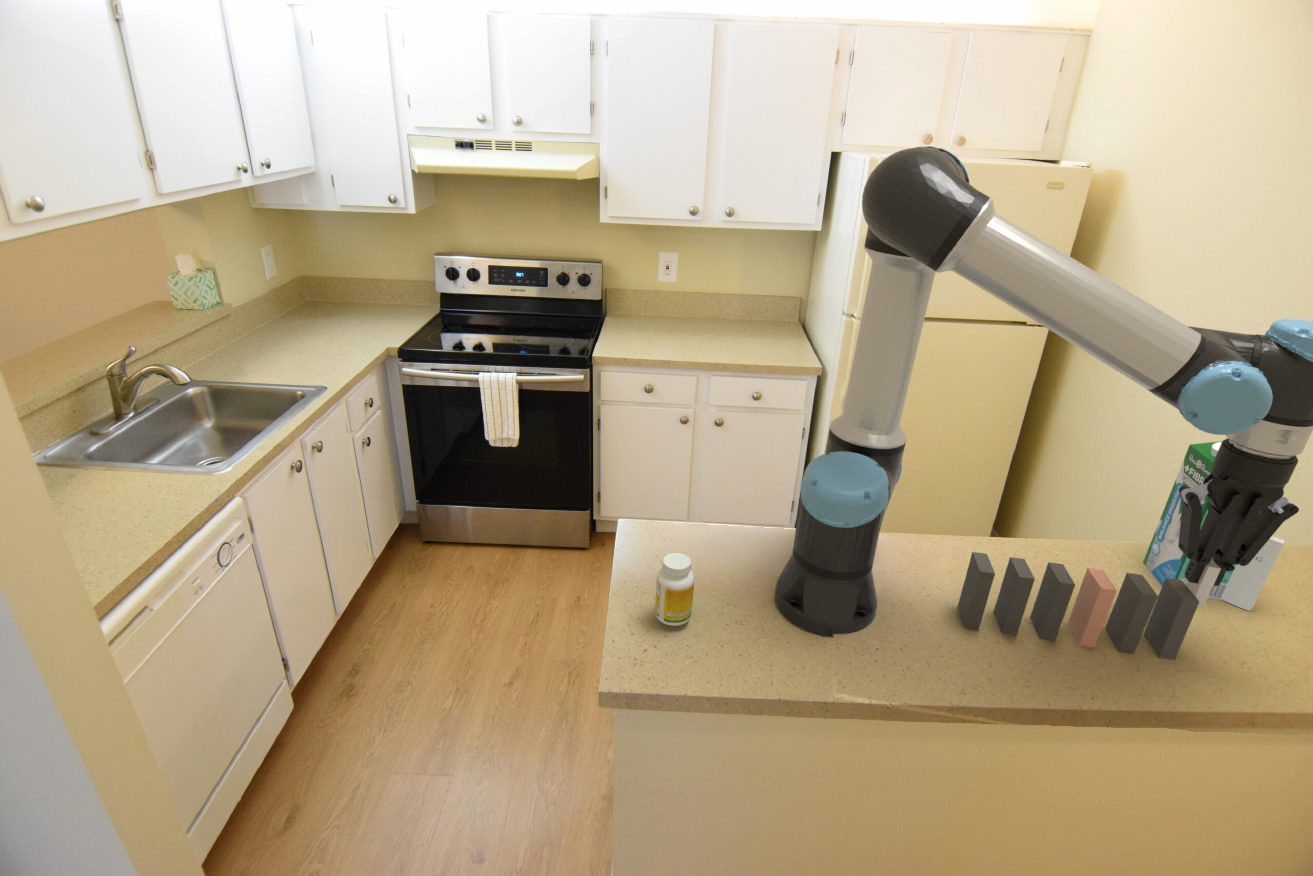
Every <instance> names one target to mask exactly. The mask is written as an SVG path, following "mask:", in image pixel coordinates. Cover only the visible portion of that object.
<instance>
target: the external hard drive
mask: <svg viewBox="0 0 1313 876" xmlns="http://www.w3.org/2000/svg"><path fill="white" fill-rule="evenodd" d="M1285 543H1286V540H1284V539H1282V538H1279V537H1276V536H1274V535H1272V536H1271V538H1270V539H1269V540H1268V541H1267V542H1266V544H1265V545H1264V546H1263V547H1262V548H1261V550H1260V551H1259V552H1258V553H1257V554H1256V556H1255V557H1254V558H1253V559H1252V560H1251V562H1250V563H1249V564H1248V565H1246V566H1241V565H1239V564H1237V565H1236V567H1235V569H1234V571H1233V573H1232V575H1231V577H1230V579H1229V581H1228V583H1227V585H1226V587H1225V589H1224V592H1223V594H1222V596H1221V598H1220V599H1221V600H1220V601H1223V602H1225V603H1228V604H1231V605H1233V606H1235V607H1238V608H1240V609H1243V610H1245V611H1248V612H1250V611H1252V609H1253V607H1254V605H1255V604H1256V602H1257V599H1258V598H1259V595H1260V593H1261V591H1262V589H1263V588H1264V585H1265V583H1266V581H1267V579H1268V578H1269V575H1270V573H1271V572H1272V571H1271V570H1273V568H1274V564H1275V563H1276V561H1277V559H1278V557H1279V555H1280V553H1281V551H1282V549H1283V548H1284V545H1285Z"/></svg>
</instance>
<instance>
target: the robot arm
mask: <svg viewBox="0 0 1313 876" xmlns="http://www.w3.org/2000/svg"><path fill="white" fill-rule="evenodd" d="M866 180H867V181H866V182H865V185H864V188H863V191H862V196H861V208H862V213H863V217H864V221H865V223H866V225H867V230H866V235H865V242H864V247H863V248H864V251H866V253H867V255H868V256H869V257H870V259H871V262H872V263H871V268H870V273H869V277H868V283H867V287H866V289H867V290H866V294H865V298H864V303H863V307H862V314H861V319H860V323H859V328H858V329H859V330H858V335H857V339H856V344H855V349H854V354H853V359H852V363H851V369H850V374H849V379H848V384H847V388H846V389H847V390H846V395H845V400H844V405H843V410H842V414H841V415H839V416H837V417H836V418H834V419H832V421H831V422H830V424H829V430H828V433H827V434H828V435H827V441H826V445H825V450H824V454H821V455H818V456H817V457H815V458H813V459H812V460H811V461H810V462H809V463H808V465H807V466H806V468H805V469H804V473H803V477H802V479H801V481H800V490H799V495H800V499H799V504H798V512H797V518H796V526H795V531H794V532H795V533H794V540H793V548H792V554H791V555H790V556H789V559H788V560H787V562H786V564H785V566H784V567H783V569H782V571H781V573H780V575H779V576H778V578H777V581H776V584H775V592H774V602H775V606H776V607H777V609H778V611H779V612H780V613H781V615H782V616H783V617H784V618H785V619H786V620H788V622H790V623H791V624H794V625H795V626H796V627H799V628H800V629H801V630H805V631H807V632H809V633H812V634H816V635H819V636H820V635H821V636H825V637H826V636H827V637H834V635H847V634H853V633H856V632H859V631H862V630H864V629H866V628H868V627H869V626H870V625H871V624H872V622H874V619H875V617H876V614H877V610H878V598H877V592H876V587H875V579H874V575H873V565H874V560H875V555H876V551H877V546H878V543H879V542H878V541H879V537H880V532H881V527H882V523H883V521H884V517H885V516H886V515H885V514H886V512H887V510H888V506H889V503H890V501H891V499H892V495H893V493H894V490H895V487H896V486H897V484H898V482H899V480H900V478H901V474H902V468H903V464H902V463H903V456H904V452H905V447H906V444H907V434H906V433H905V431H904V429H903V428H902V427H901V426H900V424H901V421H902V420H901V419H902V415H903V411H904V406H905V403H906V398H907V394H908V390H909V386H910V381H911V377H912V373H913V369H914V364H915V360H916V356H917V353H918V347H919V344H920V340H921V335H922V330H923V327H924V322H925V317H926V314H927V311H928V310H927V309H928V305H929V301H930V297H931V295H932V294H931V293H932V288H933V284H934V280H935V276H936V273H937V274H940V273H945V272H948V271H949V272H953V273H956V274H957V275H958V276H960V277H961V278H964V279H965V280H966V281H968V282H970V283H971V284H973V285H974V286H977V287H978V288H980V289H981V290H983V291H985V292H986V293H988V294H990V295H991V296H993V297H995V298H996V299H998V300H999V301H1002V302H1003V303H1005V304H1006V305H1008V306H1009V307H1010V308H1013V309H1014V310H1016V311H1018V312H1019V313H1021V314H1022V315H1024V316H1026V317H1028V319H1031V320H1032V321H1034V322H1035V323H1037V324H1039V325H1041V326H1042V327H1044V328H1046V329H1047V330H1049V331H1051V332H1052V333H1054V334H1056V335H1057V336H1059V337H1060V338H1062V339H1064V340H1065V341H1067V342H1068V343H1071V344H1072V345H1074V346H1075V347H1077V348H1078V349H1080V350H1081V351H1084V352H1085V353H1087V354H1088V355H1090V356H1092V357H1094V358H1095V359H1096V360H1098V361H1100V362H1102V363H1103V364H1105V365H1106V366H1108V367H1110V369H1111V368H1112V369H1113V370H1114V371H1116V372H1118V373H1120V374H1122V375H1123V376H1125V377H1126V378H1128V379H1130V380H1131V381H1133V382H1134V383H1136V384H1137V385H1140V386H1141V387H1143V388H1144V389H1146V390H1147V391H1149V392H1150V393H1151V394H1153V395H1154V396H1156V397H1158V398H1159V399H1161V400H1162V401H1164V402H1166V404H1169V405H1170V406H1172V407H1174V408H1175V409H1177V410H1178V412H1179V413H1180V415H1182V417H1183V419H1184V420H1185V421H1186V422H1188V423H1189V424H1191V425H1192V426H1193V427H1194V428H1196V429H1197V430H1200V431H1201V432H1204V433H1207V434H1212V435H1220V436H1223V435H1224V436H1226V438H1225V439H1223V440H1221V441H1222V443H1221V445H1220V448H1219V450H1218V452H1217V455H1216V457H1215V460H1214V462H1213V470H1212V472H1211V473H1210V475H1208V476H1207V477H1206V478H1205V479H1204V481H1203V484H1201V485H1198V486H1195V487H1192V488H1189V487H1187V486H1182V487H1180V488H1179V494H1180V496H1181V499H1182V501H1183V503H1182V513H1181V523H1180V533H1179V543H1178V547H1179V549H1180V550H1181V551H1182V552H1183V553H1184V554H1185V555H1186V556H1187V558H1188V559H1190V561H1189V564H1188V566H1187V568H1186V571H1185V573H1184V574H1185V577H1186V579H1187V583H1186V586H1187V587H1188V588H1189V590H1190V591H1191V592H1192V593H1193V594H1194V596H1195V597H1196V598H1197V599H1198V600H1199V604H1198V606H1197V609H1199V608H1200V609H1204V607H1205V604H1206V603H1207V600H1208V596H1209V594H1210V592H1211V590H1212V587H1213V586H1218V585H1219V584H1220V583H1221V581H1222V579H1223V577H1224V575H1225V573H1226V571H1233V570H1234V569H1235V567H1234V566H1233V565H1236V564H1239V565H1241V566H1246V565H1248V564H1249V563H1250V562H1251V560H1252V559H1253V558H1254V557H1255V556H1256V554H1257V553H1258V552H1259V551H1260V550H1261V548H1262V547H1263V546H1264V545H1265V544H1266V542H1267V541H1268V540H1269V539H1270V538H1271V536H1274V534H1275V533H1276V532H1277V531H1278V529H1279V528H1280V527H1281V526H1282V525H1283V523H1284V522H1286V521H1287V520H1289V519H1291V518H1292V517H1293V516H1295V515H1296V514H1297V513H1298V512H1299V511H1300V508H1299V507H1298V505H1295V504H1294V503H1293V502H1291V501H1290V499H1288V498H1286V497H1284V495H1285V490H1284V489H1283V486H1284V485H1285V486H1286V485H1287V484H1288V483H1289V481H1290V480H1291V477H1292V475H1293V473H1294V471H1295V469H1296V467H1297V465H1298V463H1299V459H1298V457H1297V456H1298V455H1302V454H1303V451H1304V449H1305V447H1306V445H1307V443H1308V441H1309V440H1310V437H1311V435H1312V432H1313V321H1310V320H1302V319H1287V318H1285V319H1284V318H1283V319H1278V320H1275V321H1273V323H1271V325H1270V327H1269V328H1268V330H1266V331H1265V334H1247V333H1240V332H1232V331H1227V330H1218V329H1211V328H1206V327H1205V328H1204V327H1198V326H1197V327H1195V326H1189V325H1186V324H1184V323H1182V322H1180V321H1179V320H1177V319H1176V318H1174V317H1172V316H1171V315H1169V314H1167V313H1165V312H1164V311H1163V310H1160V309H1159V308H1158V307H1155V306H1154V305H1152V304H1150V303H1149V302H1147V301H1145V300H1144V299H1142V298H1140V297H1139V296H1137V295H1135V294H1134V293H1132V292H1130V291H1128V290H1126V288H1124V287H1122V286H1120V285H1119V284H1117V283H1115V282H1114V281H1111V280H1110V279H1108V278H1107V277H1105V276H1103V275H1101V274H1099V273H1098V272H1097V271H1095V270H1093V269H1091V268H1090V267H1089V266H1087V265H1085V264H1083V263H1081V262H1080V261H1078V260H1077V259H1075V258H1073V257H1071V256H1069V255H1068V254H1066V253H1064V252H1063V251H1062V250H1059V249H1057V248H1056V247H1054V246H1053V245H1051V244H1049V243H1048V242H1046V241H1045V240H1043V239H1041V238H1039V237H1037V236H1036V235H1034V234H1032V233H1031V232H1029V231H1027V230H1026V229H1024V228H1023V227H1021V226H1019V225H1017V224H1015V223H1014V222H1013V221H1010V220H1009V219H1007V218H1005V217H1003V216H1002V215H1001V214H999V213H998V212H996V210H995V205H994V201H993V198H992V197H990V196H989V195H987V194H984V193H983V192H981V191H980V190H978V189H977V188H975V187H974V186H972V185H971V183H970V178H969V174H968V171H967V170H966V167H965V165H964V164H963V163H962V161H961V160H960V158H959V157H957V156H956V155H955V154H953V153H952V152H950V151H949V150H946V149H945V148H939V147H935V146H931V145H929V146H916V147H912V148H911V147H910V148H905V149H901V150H898V151H896V152H894V153H892V154H890V155H889V156H887V157H885V158H884V159H883V160H882V161H881V162H880V163H879V164H877V165H876V167H875V168H874V169H873V170H872V172H870V174H869V176H868V178H867V179H866ZM1206 495H1207V496H1208V498H1209V500H1210V503H1209V505H1208V514H1207V516H1206V518H1205V520H1204V523H1203V525H1202V527H1201V520H1202V506H1201V504H1204V503H1205V501H1204V500H1205V496H1206ZM1260 511H1261V512H1260ZM1259 513H1260V514H1259ZM1200 529H1201V530H1200ZM1212 557H1214V558H1213V560H1212Z"/></svg>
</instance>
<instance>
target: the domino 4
mask: <svg viewBox="0 0 1313 876" xmlns="http://www.w3.org/2000/svg"><path fill="white" fill-rule="evenodd" d="M1116 593H1117V589H1116V587H1115V586H1114V584H1113V582H1112V581H1111V579H1110V578H1109V577H1108V575H1107V574H1106V572H1105V571H1104V569H1103V568H1102V569H1101V568H1100V569H1099V568H1094V567H1093V568H1092V567H1087V568H1086V570H1085V574H1084V576H1083V580H1082V582H1081V585H1080V587H1079V591H1078V593H1077V596H1076V598H1075V601H1074V604H1073V607H1072V610H1071V613H1070V616H1069V618H1068V621H1067V625H1068V627H1069V628H1070V630H1071V632H1072V634H1073V636H1074V638H1075V639H1076V641H1077V642H1076V643H1078V646H1080V647H1084V648H1085V647H1086V648H1096V647H1097V643H1098V641H1099V638H1100V635H1101V632H1102V630H1103V628H1104V625H1105V622H1106V621H1107V617H1108V614H1109V612H1110V610H1111V607H1112V604H1113V601H1114V599H1115V598H1116Z"/></svg>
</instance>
